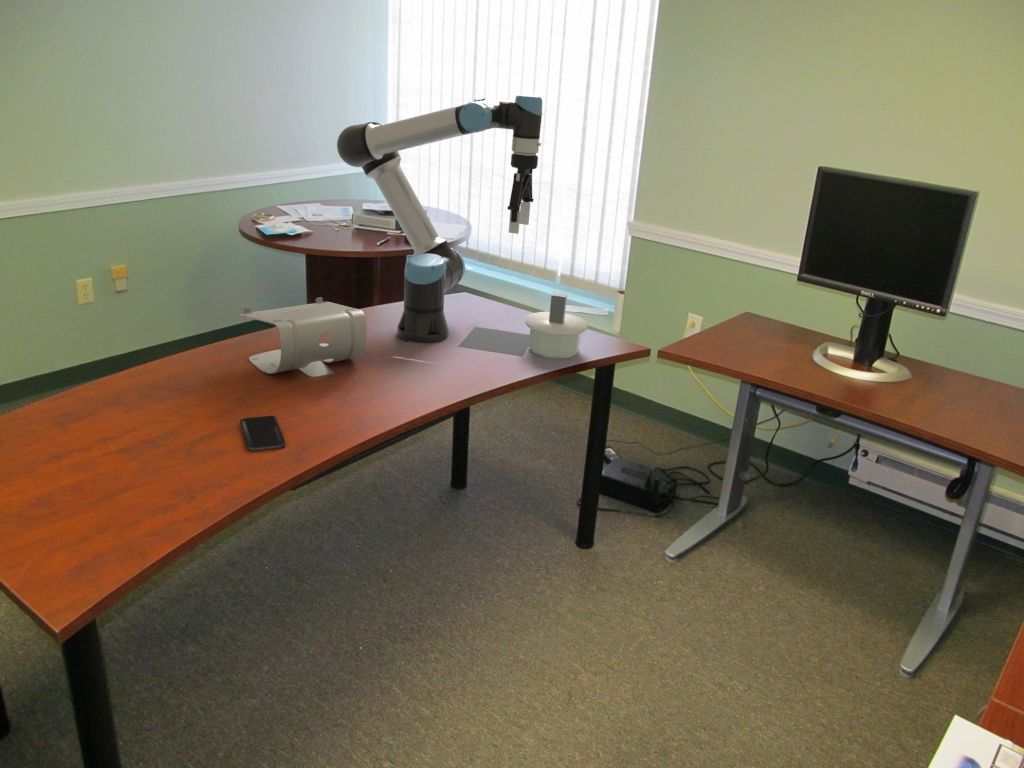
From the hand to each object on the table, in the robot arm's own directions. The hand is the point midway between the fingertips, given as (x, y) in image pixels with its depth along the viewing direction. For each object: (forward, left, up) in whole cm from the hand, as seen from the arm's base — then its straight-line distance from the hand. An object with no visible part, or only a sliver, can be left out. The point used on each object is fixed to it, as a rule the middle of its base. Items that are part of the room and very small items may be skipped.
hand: (518, 228), depth 238 cm
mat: (-2, -8, -33) cm, 34 cm away
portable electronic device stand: (-46, -45, -33) cm, 72 cm away
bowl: (+15, -8, -33) cm, 37 cm away
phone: (-35, -87, -33) cm, 99 cm away
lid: (+15, -8, -26) cm, 31 cm away
